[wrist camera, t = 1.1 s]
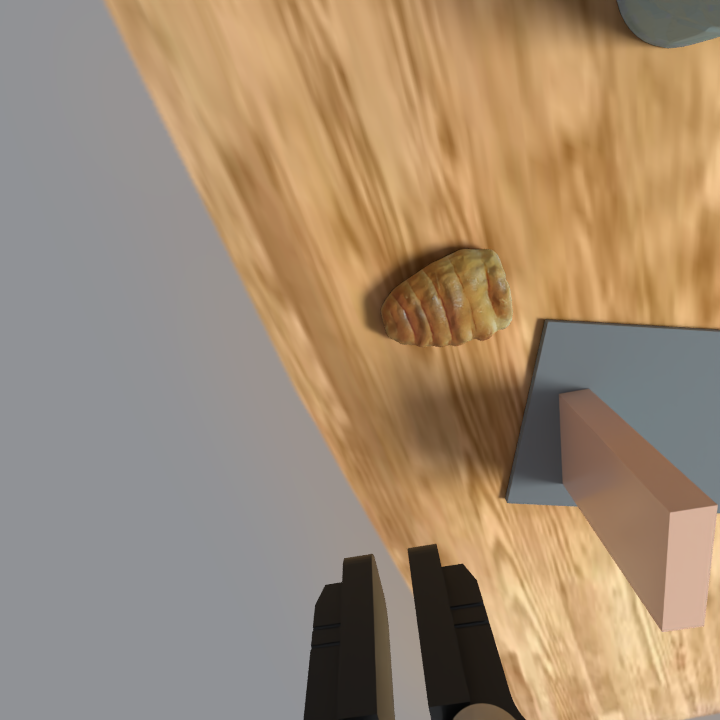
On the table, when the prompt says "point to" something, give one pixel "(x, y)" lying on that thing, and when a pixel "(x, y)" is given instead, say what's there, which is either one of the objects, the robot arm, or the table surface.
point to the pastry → (450, 301)
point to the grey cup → (672, 21)
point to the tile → (639, 510)
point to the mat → (623, 399)
